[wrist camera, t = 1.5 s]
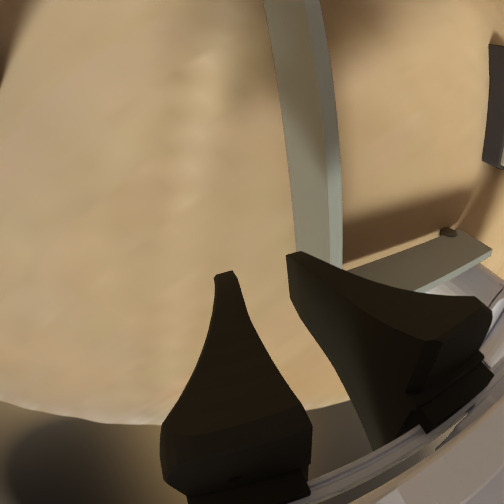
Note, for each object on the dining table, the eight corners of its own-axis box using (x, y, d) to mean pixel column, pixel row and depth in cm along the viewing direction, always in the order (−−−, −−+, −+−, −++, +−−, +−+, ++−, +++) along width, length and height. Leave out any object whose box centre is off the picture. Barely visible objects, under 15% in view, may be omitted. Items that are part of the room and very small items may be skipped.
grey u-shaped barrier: (452, 232, 27) (490, 256, 22) (295, 288, 24) (328, 336, 19) (443, -10, 14) (490, -14, 9) (245, -55, 11) (277, -99, 6)
